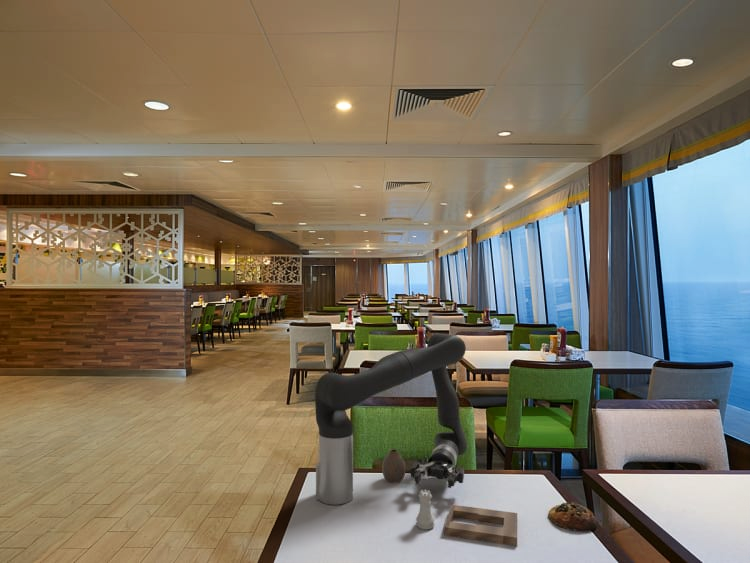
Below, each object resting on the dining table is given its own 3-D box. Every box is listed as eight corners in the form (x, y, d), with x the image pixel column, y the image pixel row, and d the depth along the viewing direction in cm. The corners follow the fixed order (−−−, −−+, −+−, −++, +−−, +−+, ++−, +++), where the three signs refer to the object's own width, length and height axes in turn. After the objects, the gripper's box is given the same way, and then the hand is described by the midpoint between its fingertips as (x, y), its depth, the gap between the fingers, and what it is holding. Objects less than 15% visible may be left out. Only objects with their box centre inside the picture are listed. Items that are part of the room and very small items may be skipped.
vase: (403, 486, 135) (403, 455, 135) (380, 484, 137) (380, 453, 137) (406, 476, 142) (406, 447, 142) (384, 475, 143) (384, 446, 144)
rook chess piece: (422, 532, 109) (422, 497, 109) (412, 523, 113) (412, 490, 113) (438, 527, 111) (438, 493, 111) (427, 519, 115) (427, 486, 115)
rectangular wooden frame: (444, 535, 108) (444, 527, 108) (451, 511, 119) (451, 504, 119) (517, 546, 103) (517, 537, 103) (517, 520, 115) (517, 513, 115)
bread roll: (588, 537, 107) (585, 514, 108) (541, 528, 114) (539, 506, 115) (604, 522, 115) (601, 500, 116) (559, 514, 122) (557, 493, 123)
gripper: (418, 445, 140) (406, 464, 125) (467, 450, 136) (460, 470, 121) (418, 471, 140) (406, 493, 125) (467, 476, 136) (460, 500, 121)
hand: (433, 482), depth 123 cm, fingers open, 8 cm apart
